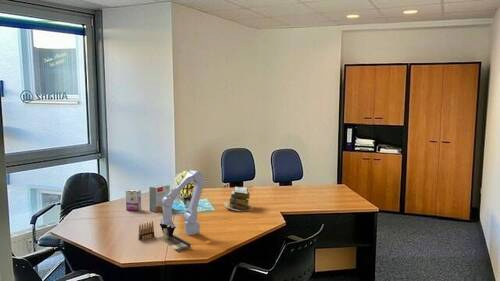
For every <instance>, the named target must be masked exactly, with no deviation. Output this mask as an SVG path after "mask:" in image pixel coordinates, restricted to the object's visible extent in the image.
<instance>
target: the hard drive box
mask: <svg viewBox="0 0 500 281" xmlns="http://www.w3.org/2000/svg"><path fill="white" fill-rule="evenodd" d="M170 191H171V185H170V184H167V183H161V184H155V185H150V186H149V191H148V192H149V211H150V212H154V213H156V212H158V213H159V212H162V211H163V204H162V203H161V201H162V199H163V197H166V195H168V194H169V192H170Z"/></svg>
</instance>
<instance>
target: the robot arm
mask: <svg viewBox="0 0 500 281" xmlns="http://www.w3.org/2000/svg"><path fill="white" fill-rule="evenodd" d="M204 180H205V179H204V174H203V173H202V172H201V171H198V170H196V169H190V170H189V171H188V172H187V173H186V174H185V176H184V177H183V179H182V180H181V181H180V182H179V184H178V185H177V186H175V187H173V188H170V192H169V194H168V195H166V197H163V199H162V201H161V203H162V204H163V210H162V218H161V219H160V223H159V226H160V227H161V230H162V232H163V229H164V228H167V230H168V235H169V238H170V237H172V236H173V235H174V232H175V230H176V225H175V223H174V222H173V211H172V210H173V207H172V206H173V205H174V201H175V200H177V198H178V197H179V196H180V195H181V191H182V190H183V189H184V188H185V187H186V186H187V185H188V184H190V183H194V187H193V188H194V189H193V192H192V195H191V199H190V201H189V202H190V203H189V206H188V207H187V208H186V210H185V212H184V213H183V220H184V233H185V234H184V235H186V236H194V235H196V234H199V235H201V233H200V232H201V228H200V227H201V226H200V225H201V224H200V223H199V222H200V221H198V210H197V209H198V206H199V202H200V200H201V196H202V193H203V188H204V187H205V186H204V185H205V182H204Z"/></svg>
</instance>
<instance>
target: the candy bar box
mask: <svg viewBox="0 0 500 281" xmlns="http://www.w3.org/2000/svg"><path fill="white" fill-rule="evenodd" d="M125 202H126V203H125V204H126V205H125V206H126V211H130V210H132V211H131V212H133V211H134V212H139V211H141V210H142V191H141V189H127V190H125Z"/></svg>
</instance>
